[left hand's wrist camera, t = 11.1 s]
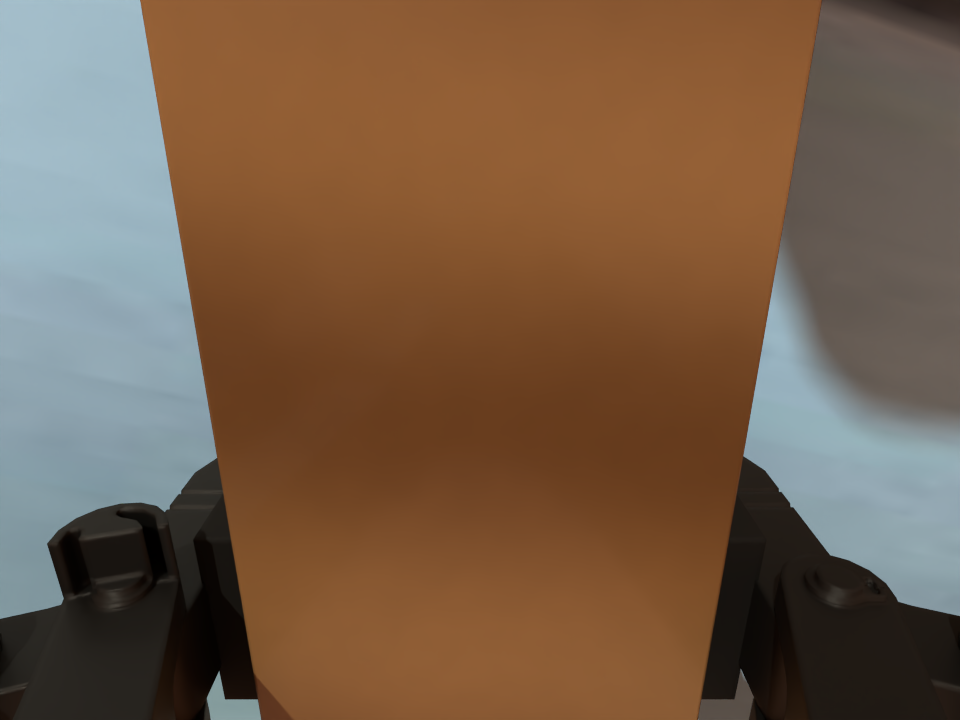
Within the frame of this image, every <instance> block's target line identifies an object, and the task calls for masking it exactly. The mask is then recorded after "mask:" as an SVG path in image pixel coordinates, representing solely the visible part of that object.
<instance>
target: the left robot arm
mask: <svg viewBox="0 0 960 720" xmlns="http://www.w3.org/2000/svg"><path fill="white" fill-rule="evenodd" d="M47 545H48V548H49V551H50V555H51V558H52V561H53V565H54V568H55V571H56V574H57V578H58V581H59V584H60V587H61V591H62V594H63V597H64V600H63V602H62V604H61V605H59V606H55V607H52V608H48V609H44V610H39V611H35V612H30V613H25V614H21V615H16V616H12V617H7V618H2V619H0V720H211V719H210V713H209V707H208V703H207V696H208V694H209V692H210V689H211V687H212V685H213V683H214V681H215V678H216V676H217V674H218V672H219V671H220V676H221V681H222V686H223V691H224V696H225V699H258V697H257V691H256V685H255V679H254V673H253V667H252V661H251V655H250V649H249V643H248V637H247V631H246V625H245V619H244V613H243V607H242V601H241V596H240V590H239V584H238V578H237V572H236V566H235V560H234V554H233V548H232V542H231V536H230V530H229V524H228V518H227V512H226V506H225V501H224V495H223V489H222V483H221V477H220V471H219V465H218V459H215V460H214V461H212V462H210V463H209V464H207V465H206V466H204V467H203V468H201V469H200V470H198V471H197V472H195V474H194V475H193V476H192V477H191V479H190V480H189V481H188V483H187V484H186V485H185V487H184V488H183V489H182V491H181V494H178V496H177V497H176V498H175V500H174V501H173V502H172V504H171V505H170V509H169V510H166V512H164V511H162V510H161V509H160V508H159V507H157V506H154V505H149V504H144V503H126V504H117V505H113V506H109V507H105V508H101V509H97V510H95V511H92V512H90V513H88V514H85V515H83V516H81V517H78V518H76V519H75V520H73V521H72V522H70V523H69V524H67V525H66V526H64V527H63V528H61V529H60V530H58V531H57V533H56V534H55V535H54V536H53V537H52V539H51V540H50V541H49V542H48V543H47ZM740 669H741V670H742V672H743V674H744V676H745V678H746V680H747V683H748V685H749V687H750V689H751V691H752V694H753V696H754V698H753V703H752V707H751V712H750V717H749V720H960V616H957V615H952V614H947V613H943V612H938V611H933V610H929V609H924V608H920V607H915V606H911V605H907V604H904V603H900V602H898V601H897V598H896V597H895V595H894V594H893V593H892V591H891V590H890V588H889V587H888V586H887V584H886V583H885V582H883V581H882V580H881V579H880V578H878V577H877V576H876V575H874V574H873V573H872V572H871V571H869V570H867V569H865V568H863V567H861V566H859V565H857V564H855V563H853V562H851V561H849V560H845V559H842V558H838V557H834V556H831V555H829V553H828V552H827V551H826V549H825V548H824V547H823V546H822V544H821V543H820V542H819V540H818V539H817V538H816V536H815V535H814V534H813V533H812V531H811V530H810V529H809V527H808V526H807V525H806V523H805V522H804V521H803V520H802V518H801V517H800V516H799V514H798V513H797V512H796V510H795V509H794V508H793V507H790V503H789V501H788V500H787V499H786V497H785V496H784V495H783V494H782V492H779V488H778V487H777V486H776V484H775V483H774V482H773V480H772V479H771V478H770V477H769V475H768V474H767V473H766V471H765V470H763V469H762V468H760V467H759V466H757V465H756V464H754V463H753V462H751V461H750V460H748V459H747V458H745V457H744V456H743V460H742V466H741V472H740V477H739V483H738V489H737V495H736V500H735V506H734V512H733V518H732V524H731V529H730V535H729V541H728V547H727V553H726V558H725V564H724V570H723V576H722V581H721V587H720V593H719V599H718V605H717V610H716V616H715V622H714V628H713V633H712V639H711V645H710V651H709V657H708V662H707V668H706V674H705V680H704V685H703V691H702V697H701V699H735V694H736V689H737V684H738V679H739V674H740Z"/></svg>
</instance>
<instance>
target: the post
mask: <svg viewBox="0 0 960 720" xmlns="http://www.w3.org/2000/svg"><path fill="white" fill-rule="evenodd" d="M140 2H141V8H142V13H143V19H144V25H145V31H146V37H147V43H148V49H149V55H150V61H151V67H152V73H153V79H154V85H155V91H156V97H157V103H158V109H159V114H160V120H161V126H162V132H163V138H164V144H165V150H166V156H167V162H168V168H169V174H170V180H171V186H172V192H173V198H174V204H175V209H176V215H177V221H178V227H179V233H180V239H181V245H182V251H183V257H184V263H185V269H186V275H187V281H188V287H189V293H190V299H191V305H192V310H193V316H194V322H195V328H196V334H197V340H198V346H199V352H200V358H201V364H202V370H203V376H204V382H205V388H206V394H207V400H208V405H209V411H210V417H211V423H212V429H213V435H214V441H215V447H216V453H217V459H218V465H219V471H220V477H221V483H222V489H223V495H224V501H225V506H226V512H227V518H228V524H229V530H230V536H231V542H232V548H233V554H234V560H235V566H236V572H237V578H238V584H239V590H240V596H241V601H242V607H243V613H244V619H245V625H246V631H247V637H248V643H249V649H250V655H251V661H252V667H253V673H254V679H255V685H256V691H257V697H258V702H259V708H260V714H261V720H698V714H699V709H700V703H701V697H702V691H703V685H704V680H705V674H706V668H707V662H708V657H709V651H710V645H711V639H712V633H713V628H714V622H715V616H716V610H717V605H718V599H719V593H720V587H721V581H722V576H723V570H724V564H725V558H726V553H727V547H728V541H729V535H730V529H731V524H732V518H733V512H734V506H735V500H736V495H737V489H738V483H739V477H740V472H741V466H742V460H743V454H744V448H745V443H746V437H747V431H748V425H749V420H750V414H751V408H752V402H753V396H754V391H755V385H756V379H757V373H758V368H759V362H760V356H761V350H762V344H763V339H764V333H765V327H766V321H767V316H768V310H769V304H770V298H771V292H772V287H773V281H774V275H775V269H776V264H777V258H778V252H779V246H780V240H781V235H782V229H783V223H784V217H785V211H786V206H787V200H788V194H789V188H790V183H791V177H792V171H793V165H794V159H795V154H796V148H797V142H798V136H799V131H800V125H801V119H802V113H803V107H804V102H805V96H806V90H807V84H808V79H809V73H810V67H811V61H812V55H813V50H814V44H815V38H816V32H817V27H818V21H819V15H820V9H821V3H822V0H140Z"/></svg>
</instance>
